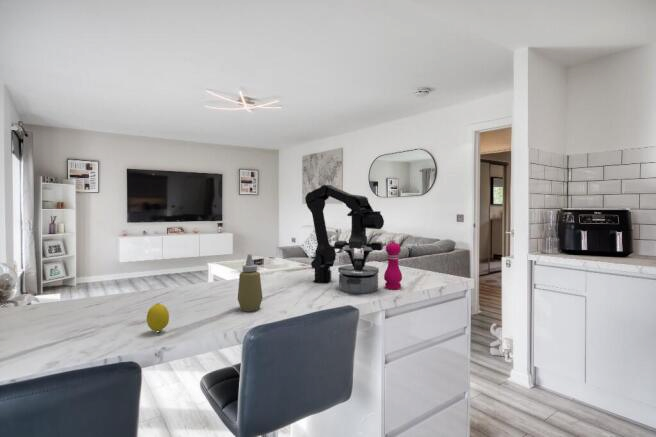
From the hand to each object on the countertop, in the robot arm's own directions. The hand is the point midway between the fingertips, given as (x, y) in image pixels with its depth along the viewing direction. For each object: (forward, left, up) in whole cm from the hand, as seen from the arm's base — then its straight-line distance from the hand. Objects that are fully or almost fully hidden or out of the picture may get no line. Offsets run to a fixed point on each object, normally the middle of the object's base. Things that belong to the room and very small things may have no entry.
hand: (358, 266), depth 149 cm
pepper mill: (+13, +6, -9) cm, 17 cm away
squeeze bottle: (-29, -36, -9) cm, 47 cm away
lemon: (-43, -62, -9) cm, 76 cm away
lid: (0, 0, -3) cm, 3 cm away
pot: (0, 0, -9) cm, 9 cm away
